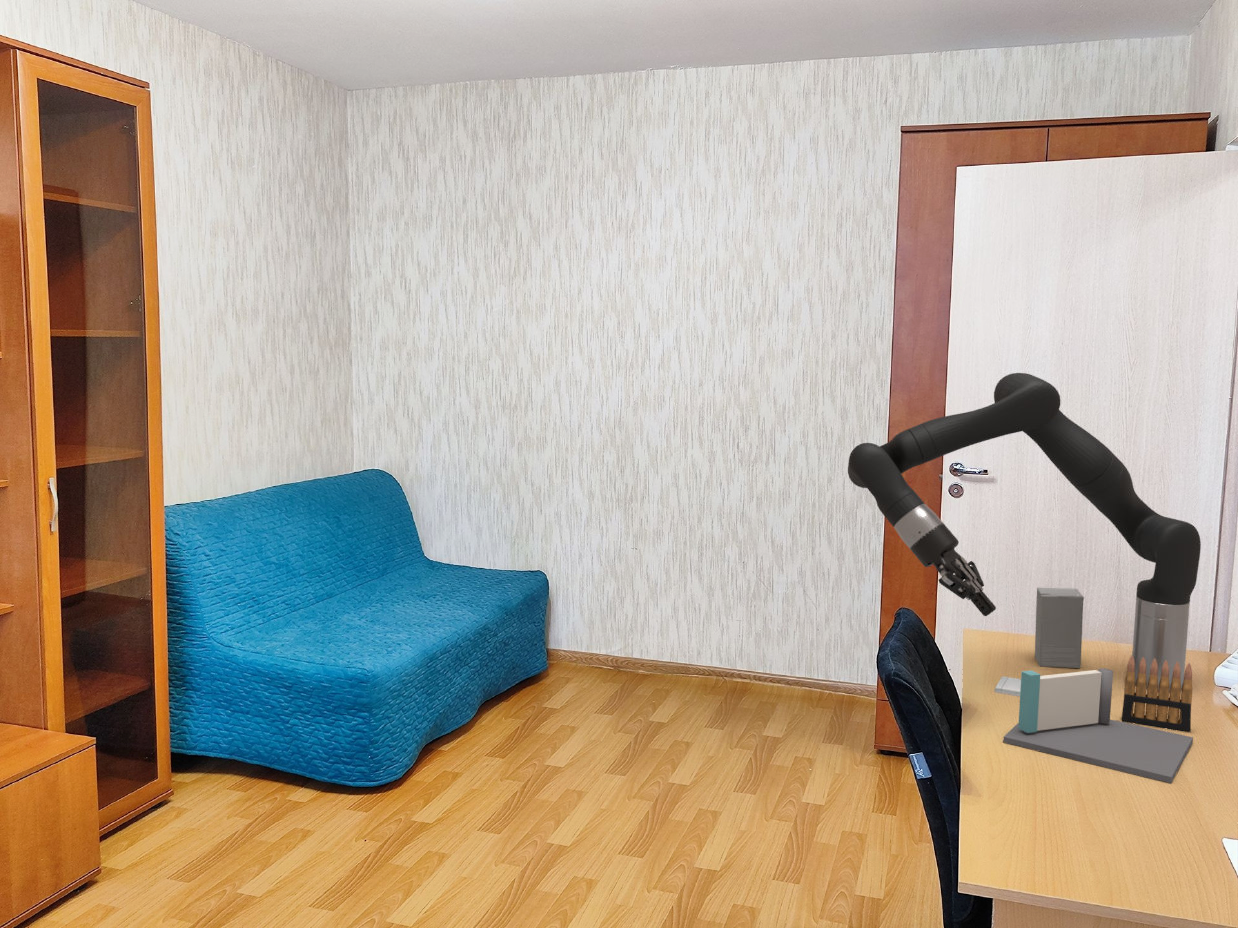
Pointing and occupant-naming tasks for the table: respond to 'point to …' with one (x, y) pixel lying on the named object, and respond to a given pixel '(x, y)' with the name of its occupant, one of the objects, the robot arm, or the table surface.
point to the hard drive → (1009, 686)
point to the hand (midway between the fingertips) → (990, 612)
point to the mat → (1111, 747)
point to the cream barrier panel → (1064, 699)
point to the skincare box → (1058, 627)
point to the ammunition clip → (1158, 697)
